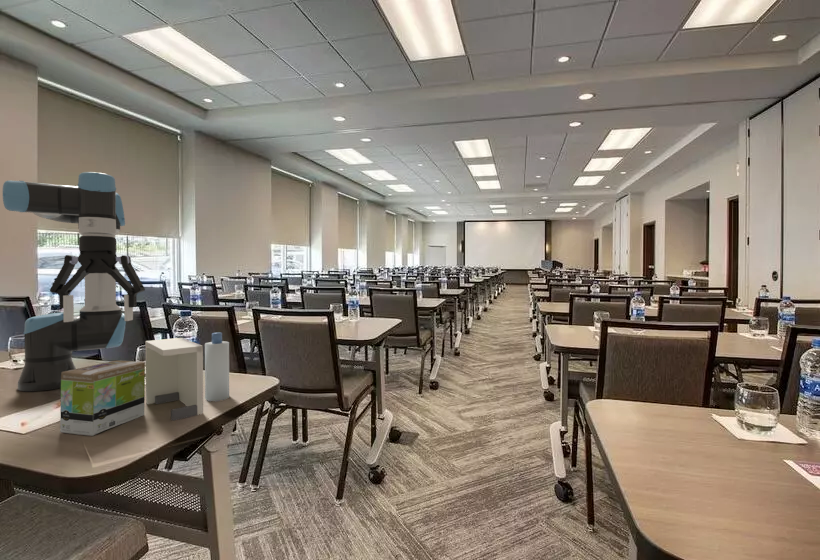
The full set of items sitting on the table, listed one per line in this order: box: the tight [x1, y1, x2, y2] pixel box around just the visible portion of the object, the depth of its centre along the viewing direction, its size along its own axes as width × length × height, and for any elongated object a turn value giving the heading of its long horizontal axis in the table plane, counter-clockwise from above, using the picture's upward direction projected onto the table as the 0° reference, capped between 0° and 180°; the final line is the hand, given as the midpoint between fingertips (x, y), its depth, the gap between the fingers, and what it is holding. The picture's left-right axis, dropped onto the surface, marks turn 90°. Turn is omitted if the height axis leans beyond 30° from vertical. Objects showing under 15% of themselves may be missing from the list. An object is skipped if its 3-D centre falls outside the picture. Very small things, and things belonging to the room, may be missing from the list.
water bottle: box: [204, 331, 230, 402], centre depth 128 cm, size 7×7×20 cm
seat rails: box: [154, 392, 198, 421], centre depth 119 cm, size 18×6×2 cm, turn 43°
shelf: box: [145, 337, 204, 416], centre depth 119 cm, size 19×10×18 cm, turn 43°
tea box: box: [59, 359, 146, 437], centre depth 107 cm, size 15×10×15 cm
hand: (99, 321), depth 107 cm, fingers open, 13 cm apart
